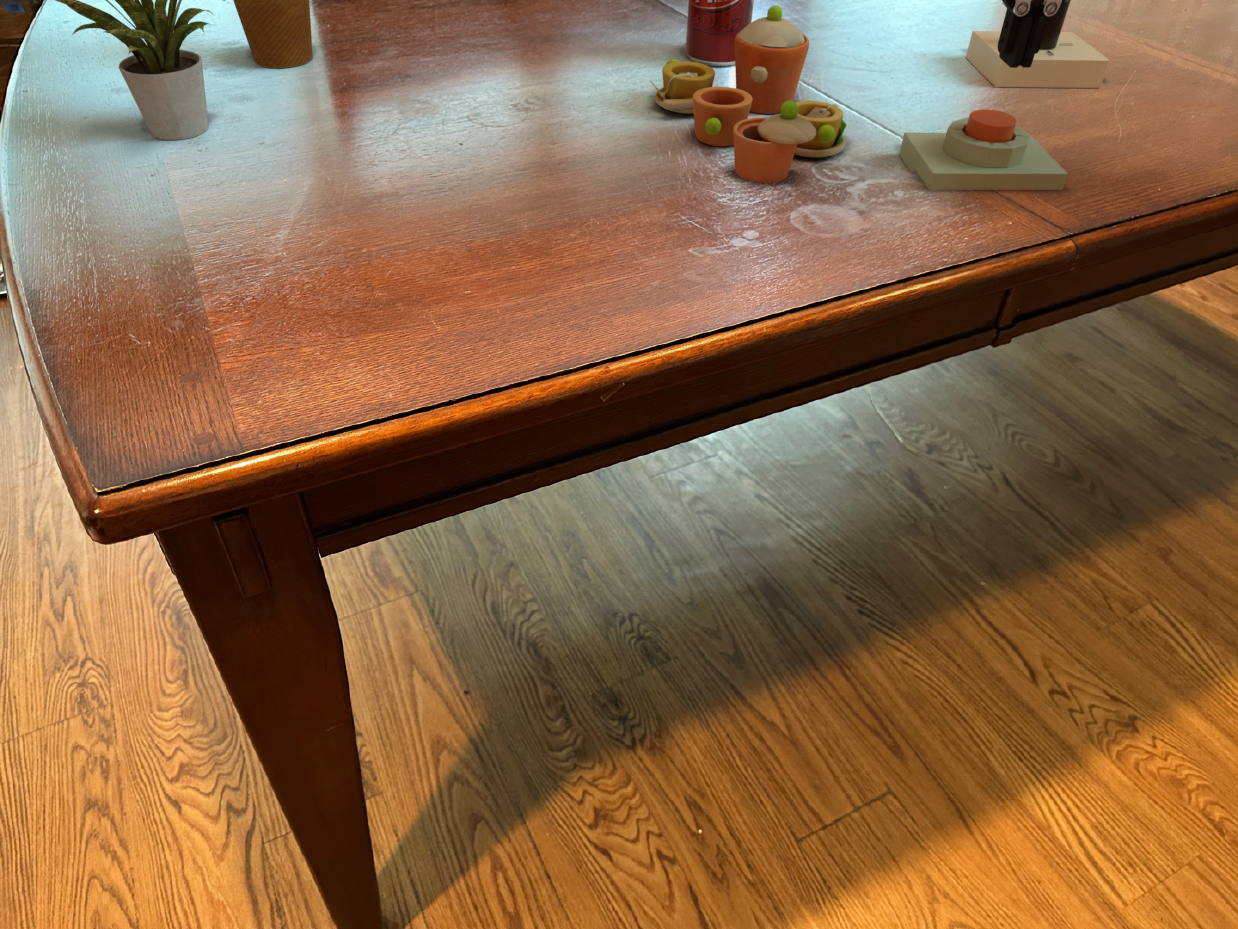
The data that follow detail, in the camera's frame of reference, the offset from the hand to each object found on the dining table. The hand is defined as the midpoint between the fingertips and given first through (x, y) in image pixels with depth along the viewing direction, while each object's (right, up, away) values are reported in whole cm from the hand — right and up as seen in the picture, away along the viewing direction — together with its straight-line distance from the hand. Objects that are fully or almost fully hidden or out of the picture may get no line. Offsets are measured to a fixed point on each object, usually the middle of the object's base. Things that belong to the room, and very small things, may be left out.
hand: (1014, 61), depth 79 cm
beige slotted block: (+14, +11, +29) cm, 34 cm away
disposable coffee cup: (-71, +11, +26) cm, 76 cm away
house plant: (-75, -1, +11) cm, 76 cm away
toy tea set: (-20, -2, +13) cm, 24 cm away
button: (-1, -5, +4) cm, 7 cm away
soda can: (-22, +13, +30) cm, 39 cm away
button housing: (-1, -8, +7) cm, 10 cm away
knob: (+14, +13, +27) cm, 33 cm away
